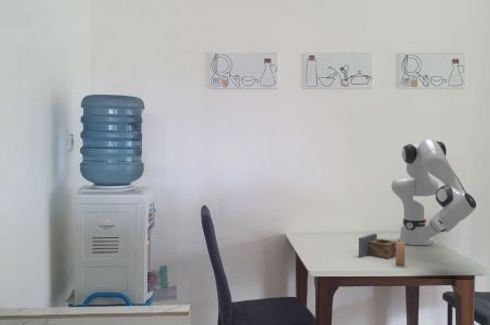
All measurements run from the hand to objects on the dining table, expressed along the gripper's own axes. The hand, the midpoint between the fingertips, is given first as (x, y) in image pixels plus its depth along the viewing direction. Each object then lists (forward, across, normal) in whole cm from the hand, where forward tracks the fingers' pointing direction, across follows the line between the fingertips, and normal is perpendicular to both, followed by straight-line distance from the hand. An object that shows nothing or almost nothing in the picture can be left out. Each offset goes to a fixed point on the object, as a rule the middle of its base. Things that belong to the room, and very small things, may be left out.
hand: (420, 240), depth 200 cm
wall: (+31, -8, -12) cm, 34 cm away
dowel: (+16, 0, +3) cm, 17 cm away
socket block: (+26, -12, -8) cm, 30 cm away
